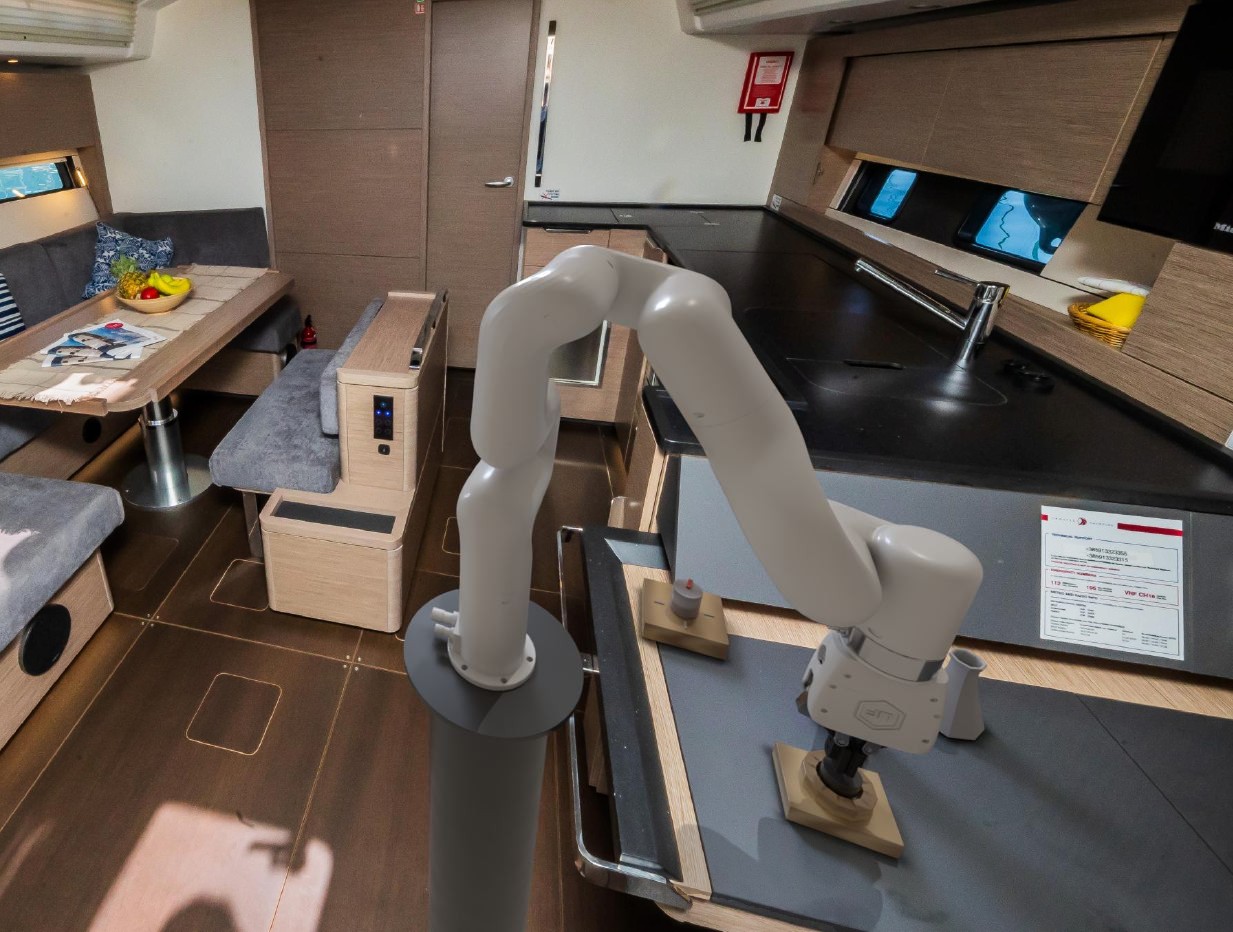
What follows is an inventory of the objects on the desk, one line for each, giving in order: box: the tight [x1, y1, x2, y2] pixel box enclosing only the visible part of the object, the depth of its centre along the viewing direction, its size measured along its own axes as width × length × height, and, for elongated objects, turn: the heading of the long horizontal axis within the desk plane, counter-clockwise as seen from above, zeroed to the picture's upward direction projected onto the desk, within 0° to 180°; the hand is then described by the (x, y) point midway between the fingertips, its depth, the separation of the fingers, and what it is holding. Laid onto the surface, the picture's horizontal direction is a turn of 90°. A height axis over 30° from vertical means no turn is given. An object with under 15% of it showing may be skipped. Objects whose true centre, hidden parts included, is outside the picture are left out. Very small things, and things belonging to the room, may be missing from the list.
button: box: [819, 756, 863, 798], centre depth 66 cm, size 4×4×2 cm
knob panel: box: [641, 577, 730, 661], centre depth 91 cm, size 11×10×3 cm
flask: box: [939, 647, 988, 741], centre depth 75 cm, size 7×7×10 cm
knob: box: [669, 578, 704, 619], centre depth 90 cm, size 4×4×4 cm
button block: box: [771, 741, 905, 860], centre depth 67 cm, size 10×8×4 cm
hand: (839, 763), depth 66 cm, fingers closed
